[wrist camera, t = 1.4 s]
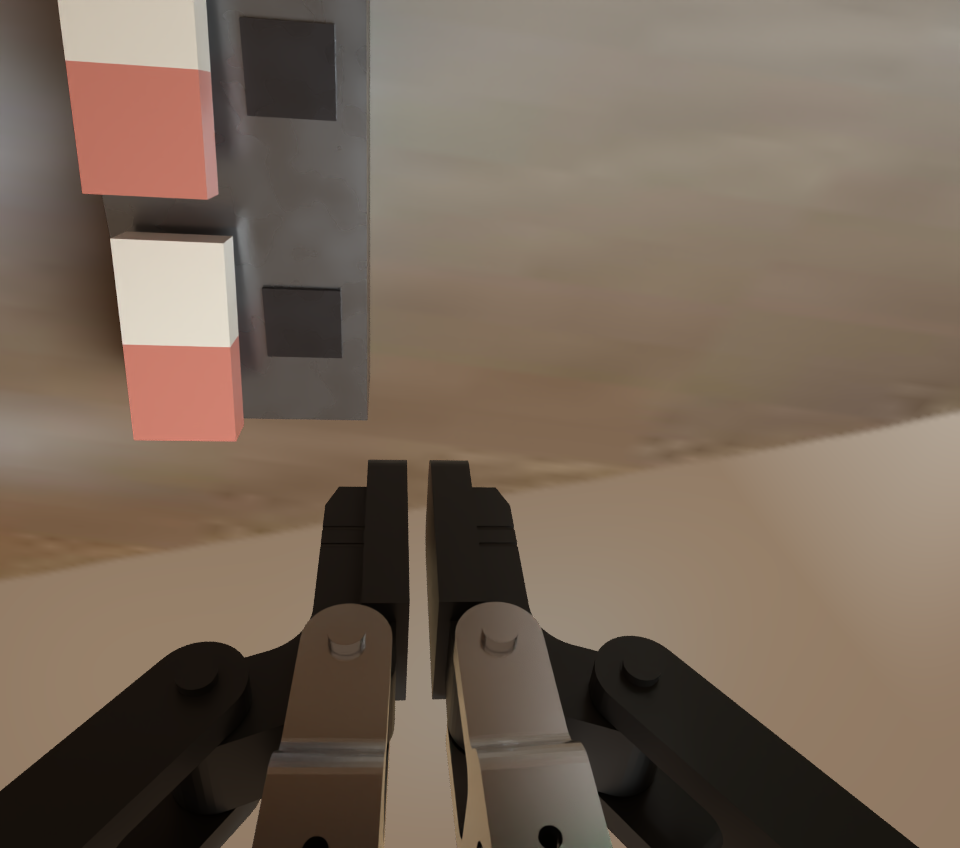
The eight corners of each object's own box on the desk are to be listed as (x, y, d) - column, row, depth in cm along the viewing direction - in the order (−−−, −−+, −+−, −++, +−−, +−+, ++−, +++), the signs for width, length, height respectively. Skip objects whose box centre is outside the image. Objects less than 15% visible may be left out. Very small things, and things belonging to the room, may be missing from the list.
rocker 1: (201, -65, 25) (188, -78, 23) (218, 194, 28) (207, 199, 26) (69, -77, 24) (45, -91, 22) (101, 188, 27) (82, 193, 25)
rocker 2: (232, 235, 30) (223, 243, 28) (244, 424, 33) (236, 441, 31) (126, 231, 30) (110, 238, 28) (146, 423, 33) (133, 440, 31)
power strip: (369, -497, 23) (364, -568, 19) (369, 376, 39) (367, 422, 36) (9, -553, 22) (-65, -641, 18) (166, 372, 38) (143, 419, 35)
